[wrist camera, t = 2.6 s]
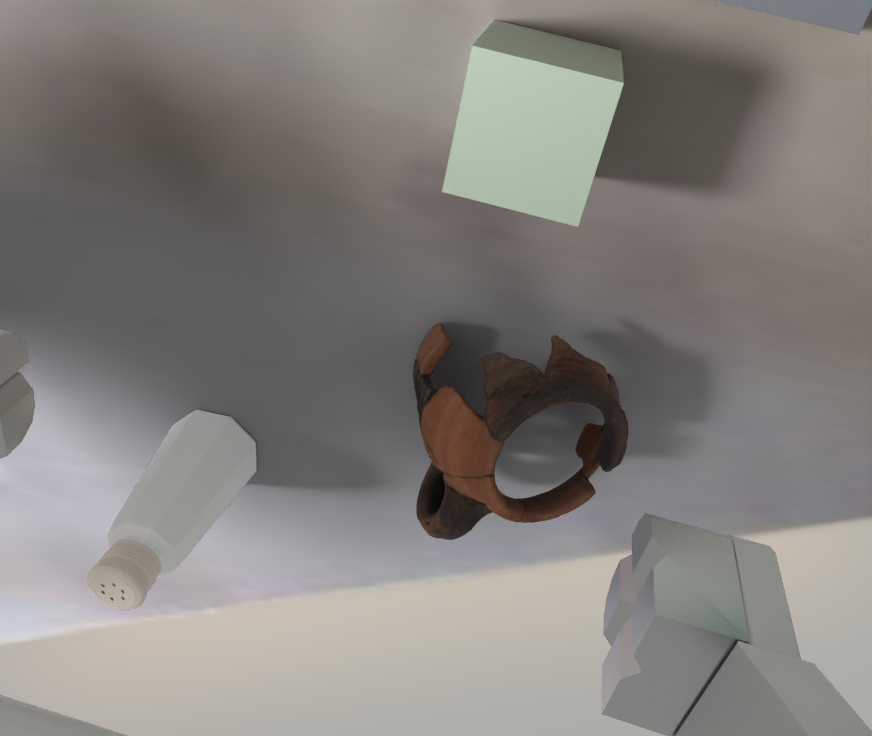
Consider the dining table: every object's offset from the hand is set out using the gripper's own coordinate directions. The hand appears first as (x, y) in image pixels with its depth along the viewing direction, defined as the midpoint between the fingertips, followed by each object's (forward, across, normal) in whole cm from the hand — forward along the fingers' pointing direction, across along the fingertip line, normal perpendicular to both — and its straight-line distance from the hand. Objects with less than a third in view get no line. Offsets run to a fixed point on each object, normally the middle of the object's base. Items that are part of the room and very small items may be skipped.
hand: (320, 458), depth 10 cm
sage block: (+25, -1, +1) cm, 25 cm away
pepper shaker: (+24, +12, +24) cm, 36 cm away
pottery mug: (+26, -1, +16) cm, 30 cm away
